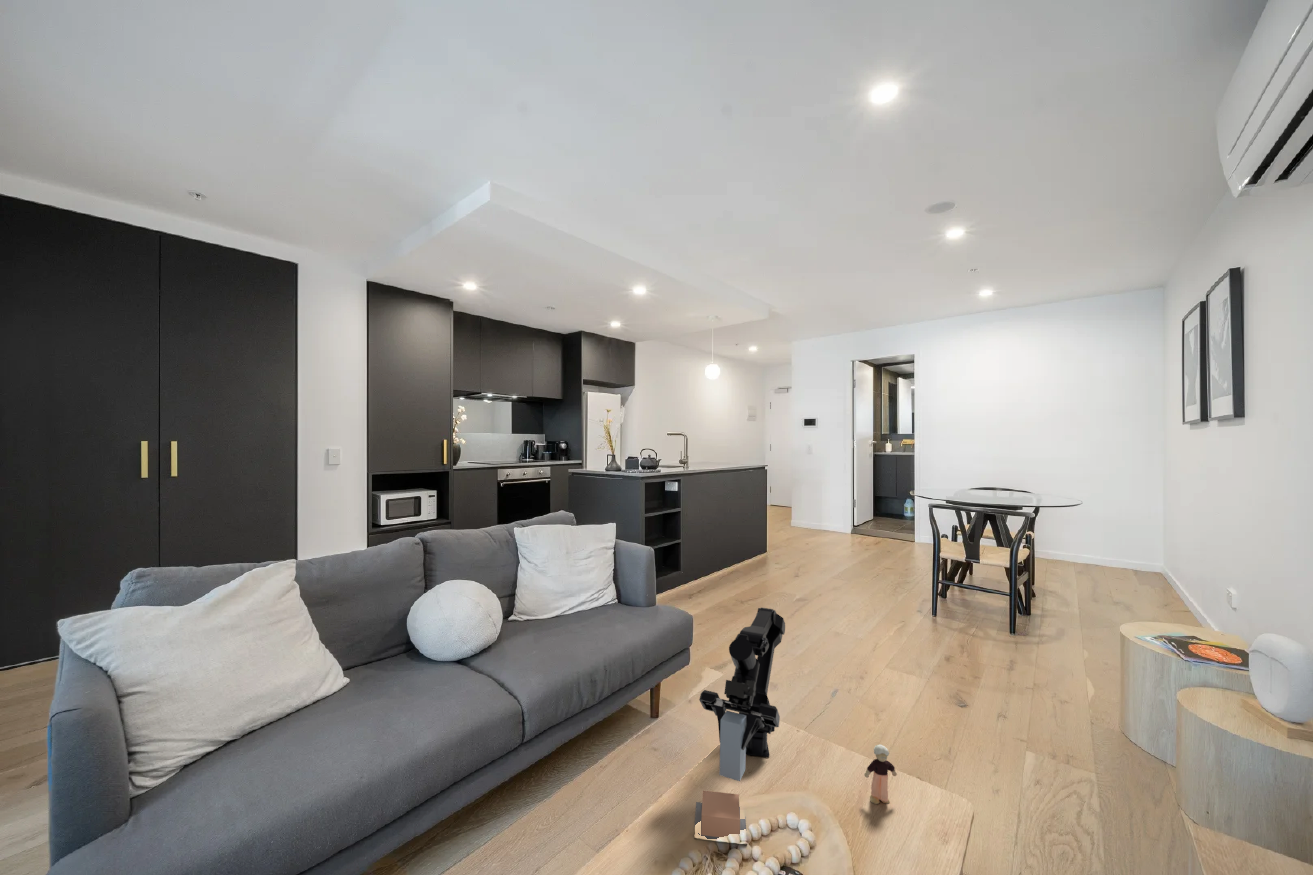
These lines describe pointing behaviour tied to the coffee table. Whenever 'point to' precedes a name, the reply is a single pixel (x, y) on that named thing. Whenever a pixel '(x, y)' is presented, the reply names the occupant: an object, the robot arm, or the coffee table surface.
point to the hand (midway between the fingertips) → (731, 746)
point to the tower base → (719, 815)
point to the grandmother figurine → (880, 775)
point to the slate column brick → (732, 745)
